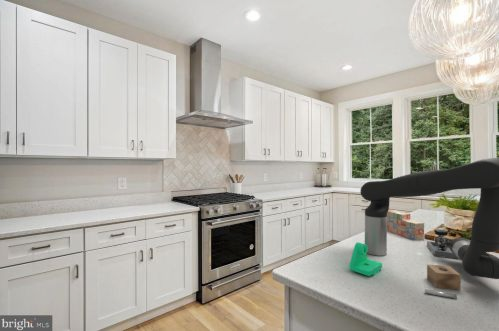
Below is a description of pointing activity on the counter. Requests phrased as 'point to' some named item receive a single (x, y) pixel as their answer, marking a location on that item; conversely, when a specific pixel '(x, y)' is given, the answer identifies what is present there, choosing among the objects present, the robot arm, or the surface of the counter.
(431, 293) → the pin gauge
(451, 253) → the tray
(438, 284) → the block
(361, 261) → the camera mount
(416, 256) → the counter surface
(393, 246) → the counter surface
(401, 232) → the stack of blocks
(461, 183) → the robot arm
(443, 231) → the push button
